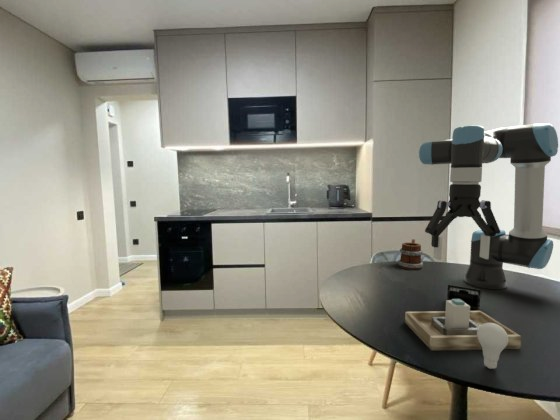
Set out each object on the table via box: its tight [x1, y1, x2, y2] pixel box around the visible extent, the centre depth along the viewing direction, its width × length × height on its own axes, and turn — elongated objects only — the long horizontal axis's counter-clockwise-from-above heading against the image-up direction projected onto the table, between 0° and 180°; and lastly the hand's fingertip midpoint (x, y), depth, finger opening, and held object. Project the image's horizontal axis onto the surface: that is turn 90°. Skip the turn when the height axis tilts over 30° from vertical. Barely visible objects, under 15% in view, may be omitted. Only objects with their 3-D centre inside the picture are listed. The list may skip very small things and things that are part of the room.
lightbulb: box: [477, 323, 508, 370], centre depth 74 cm, size 6×6×11 cm
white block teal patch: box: [445, 299, 470, 328], centre depth 91 cm, size 4×4×9 cm
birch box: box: [404, 310, 522, 351], centre depth 90 cm, size 24×16×4 cm, turn 92°
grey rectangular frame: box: [431, 317, 480, 336], centre depth 91 cm, size 11×8×2 cm
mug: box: [397, 239, 424, 271], centre depth 160 cm, size 12×14×15 cm
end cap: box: [446, 284, 482, 311], centre depth 111 cm, size 10×7×7 cm
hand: (460, 258), depth 89 cm, fingers open, 13 cm apart
